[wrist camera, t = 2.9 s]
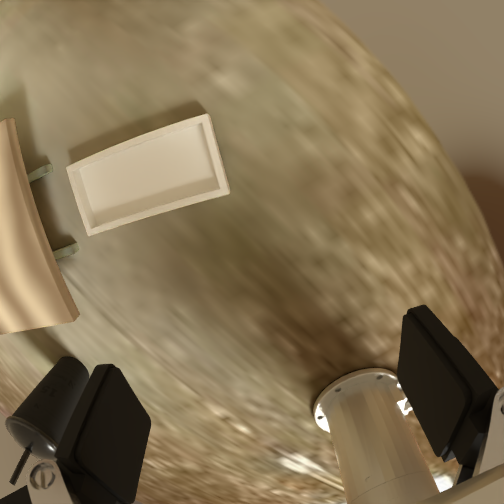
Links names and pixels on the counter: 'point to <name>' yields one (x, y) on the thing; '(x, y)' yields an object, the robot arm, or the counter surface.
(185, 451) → the counter surface
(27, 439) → the drinking cup
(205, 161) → the white rectangular tray
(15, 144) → the shelf
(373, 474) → the robot arm
